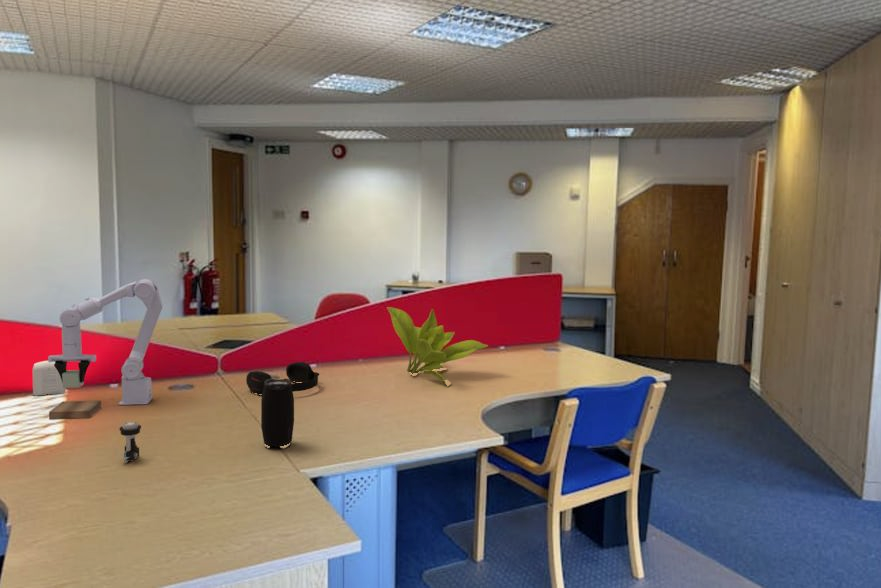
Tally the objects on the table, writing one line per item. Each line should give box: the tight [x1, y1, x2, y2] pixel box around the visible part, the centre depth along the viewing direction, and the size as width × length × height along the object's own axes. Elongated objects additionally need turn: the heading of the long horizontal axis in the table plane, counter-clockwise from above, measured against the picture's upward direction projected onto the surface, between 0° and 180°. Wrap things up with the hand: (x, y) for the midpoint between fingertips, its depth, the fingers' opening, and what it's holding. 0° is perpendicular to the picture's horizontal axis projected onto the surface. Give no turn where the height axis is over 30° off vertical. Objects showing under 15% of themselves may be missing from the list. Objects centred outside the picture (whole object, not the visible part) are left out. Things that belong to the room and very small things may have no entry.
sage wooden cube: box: [62, 369, 85, 389], centre depth 224 cm, size 5×5×5 cm
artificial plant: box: [386, 306, 489, 383], centre depth 281 cm, size 42×43×30 cm
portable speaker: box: [260, 378, 295, 446], centre depth 192 cm, size 9×9×20 cm
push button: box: [119, 421, 142, 464], centre depth 177 cm, size 7×5×10 cm
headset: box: [246, 361, 320, 394], centre depth 256 cm, size 28×26×9 cm
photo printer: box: [32, 360, 66, 397], centre depth 238 cm, size 10×4×12 cm, turn 123°
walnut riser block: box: [48, 400, 102, 420], centre depth 217 cm, size 12×12×3 cm
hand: (73, 381), depth 224 cm, fingers closed on sage wooden cube, 5 cm apart
